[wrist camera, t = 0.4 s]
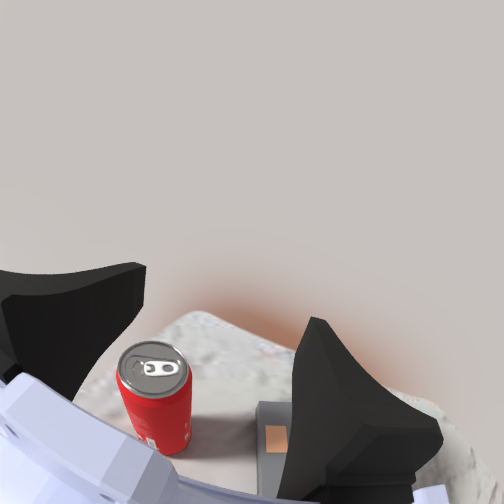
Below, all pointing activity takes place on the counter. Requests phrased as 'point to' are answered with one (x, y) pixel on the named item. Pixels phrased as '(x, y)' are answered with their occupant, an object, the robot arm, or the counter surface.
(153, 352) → the beverage can
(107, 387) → the counter surface
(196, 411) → the counter surface
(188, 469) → the counter surface
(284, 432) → the fader console
